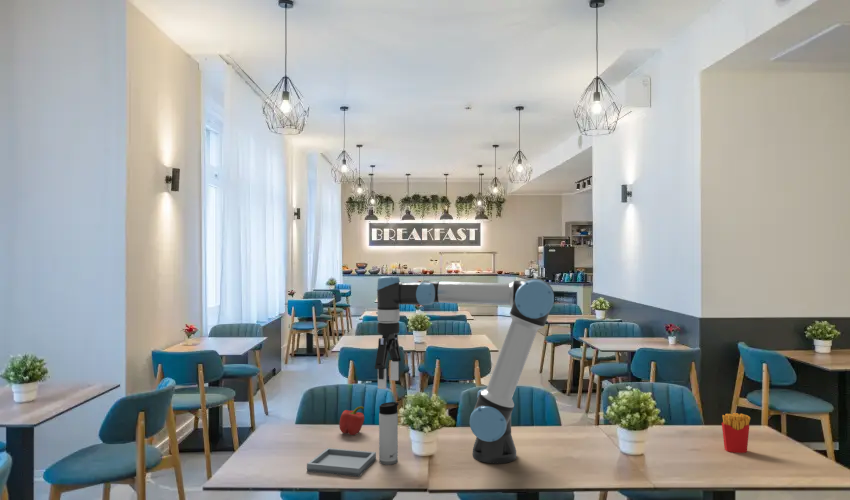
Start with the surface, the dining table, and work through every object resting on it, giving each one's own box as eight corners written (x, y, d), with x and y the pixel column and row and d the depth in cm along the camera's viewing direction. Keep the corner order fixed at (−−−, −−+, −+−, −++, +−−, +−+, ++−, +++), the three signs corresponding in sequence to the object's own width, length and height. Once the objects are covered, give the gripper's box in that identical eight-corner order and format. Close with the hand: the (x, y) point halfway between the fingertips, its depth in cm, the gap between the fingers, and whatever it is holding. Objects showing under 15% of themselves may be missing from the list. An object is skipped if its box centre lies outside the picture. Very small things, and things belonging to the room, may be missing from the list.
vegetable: (356, 427, 234) (356, 403, 235) (371, 433, 227) (371, 408, 227) (333, 432, 228) (333, 407, 228) (347, 439, 220) (347, 412, 220)
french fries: (725, 452, 203) (725, 415, 204) (720, 448, 208) (720, 412, 208) (752, 453, 203) (752, 416, 203) (746, 449, 207) (746, 412, 207)
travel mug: (396, 465, 191) (395, 405, 191) (376, 464, 192) (376, 404, 193) (400, 459, 197) (400, 400, 198) (382, 457, 199) (382, 399, 199)
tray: (375, 459, 197) (376, 452, 197) (359, 476, 182) (359, 468, 182) (327, 455, 202) (327, 447, 202) (306, 471, 186) (306, 463, 186)
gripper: (389, 317, 209) (389, 376, 208) (365, 325, 185) (365, 391, 184) (409, 318, 207) (409, 377, 206) (387, 326, 183) (387, 393, 182)
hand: (388, 384), depth 195 cm, fingers open, 13 cm apart
